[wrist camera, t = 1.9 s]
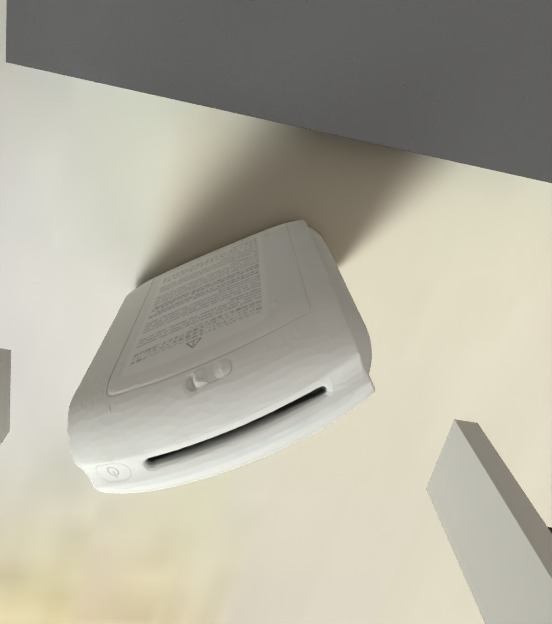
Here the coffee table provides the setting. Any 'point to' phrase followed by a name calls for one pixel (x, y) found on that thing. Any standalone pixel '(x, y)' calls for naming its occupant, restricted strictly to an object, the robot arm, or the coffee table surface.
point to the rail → (324, 66)
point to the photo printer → (221, 364)
